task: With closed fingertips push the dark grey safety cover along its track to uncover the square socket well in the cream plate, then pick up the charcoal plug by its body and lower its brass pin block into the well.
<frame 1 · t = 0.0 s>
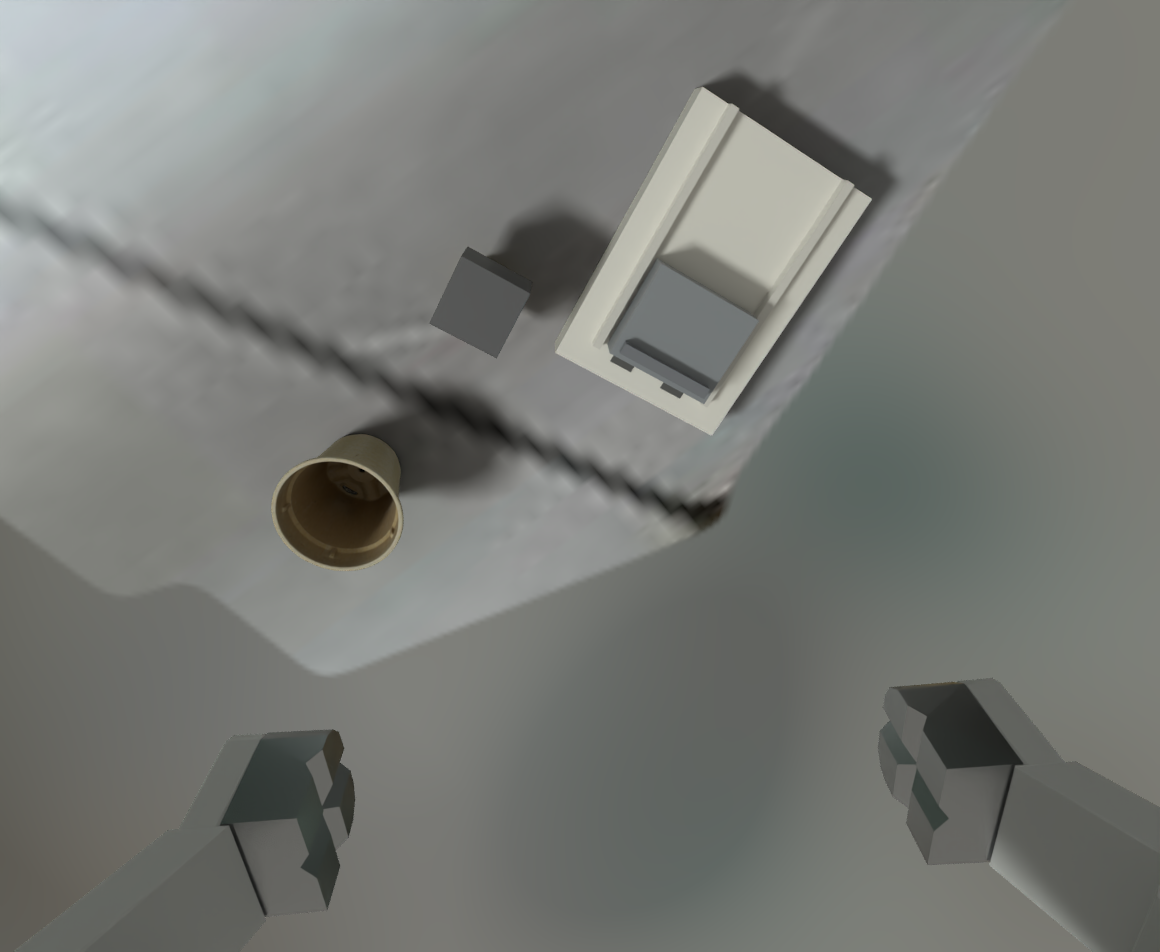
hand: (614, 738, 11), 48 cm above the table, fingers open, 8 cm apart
cover: (682, 334, 52), point 5 cm above the table, slide at 0.0 cm
plug: (488, 286, 55), on the table
flower pot: (365, 466, 62), on the table
socket plate: (700, 271, 55), on the table
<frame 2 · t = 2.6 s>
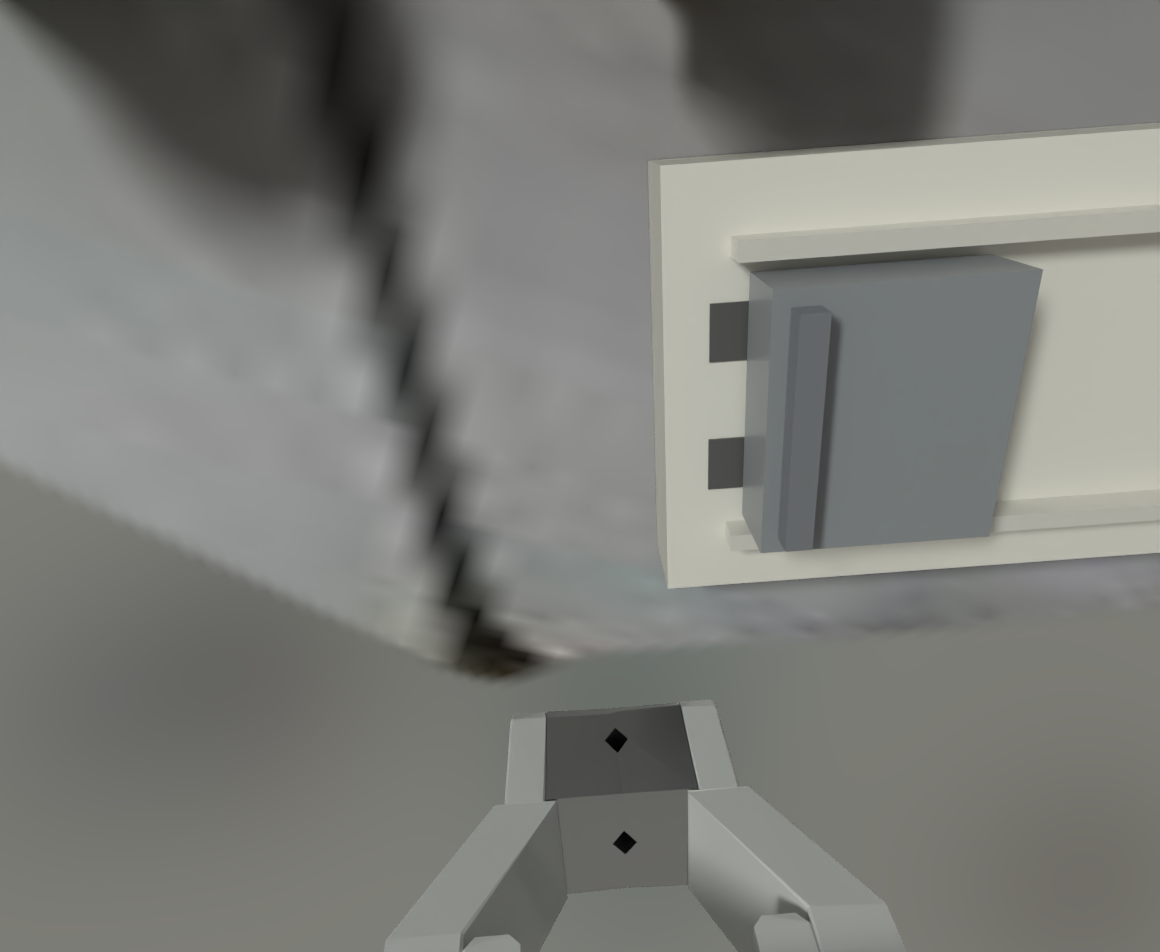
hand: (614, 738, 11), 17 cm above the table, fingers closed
cover: (878, 412, 21), point 5 cm above the table, slide at 0.0 cm
socket plate: (935, 354, 26), on the table
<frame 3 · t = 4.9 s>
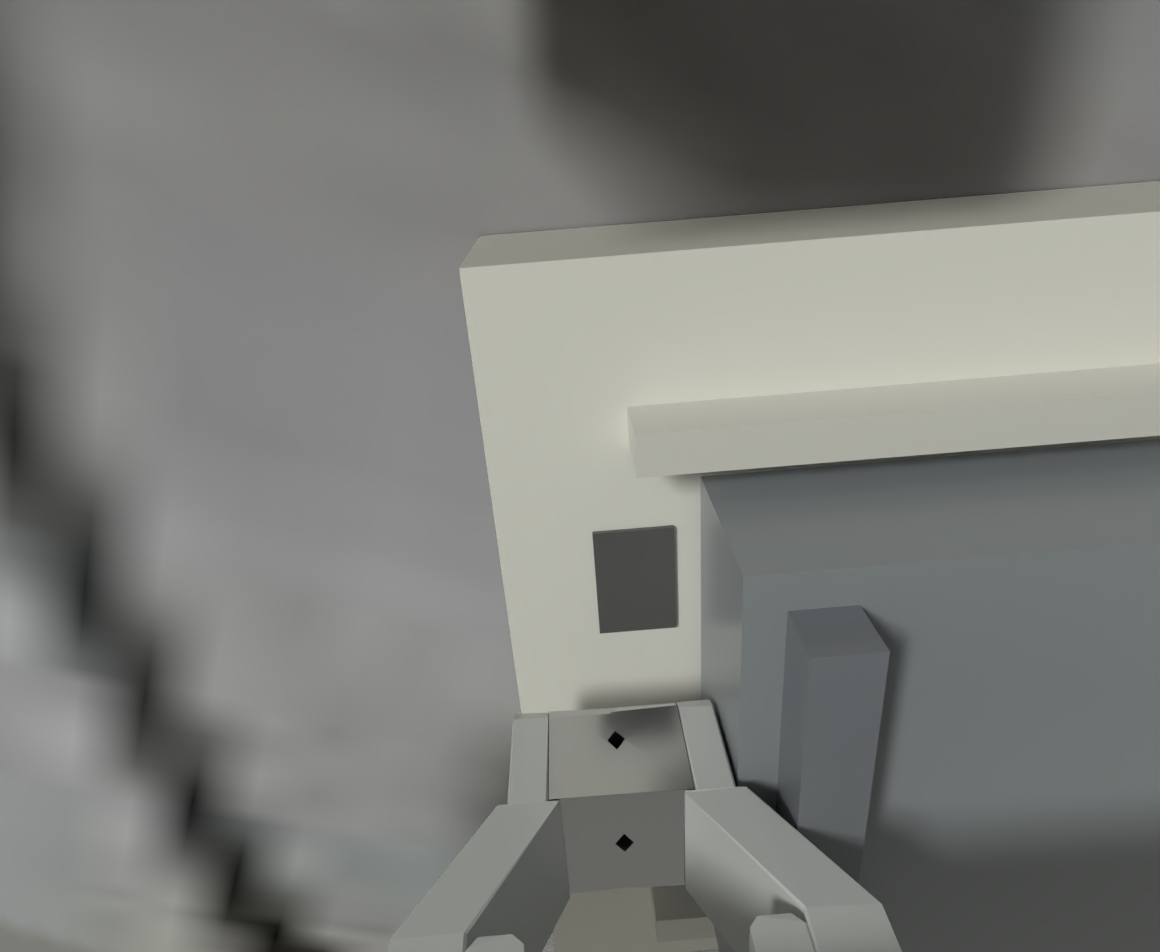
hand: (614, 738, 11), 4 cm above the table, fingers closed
cover: (969, 761, 10), point 5 cm above the table, slide at 0.5 cm, touching gripper
socket plate: (1018, 556, 15), on the table
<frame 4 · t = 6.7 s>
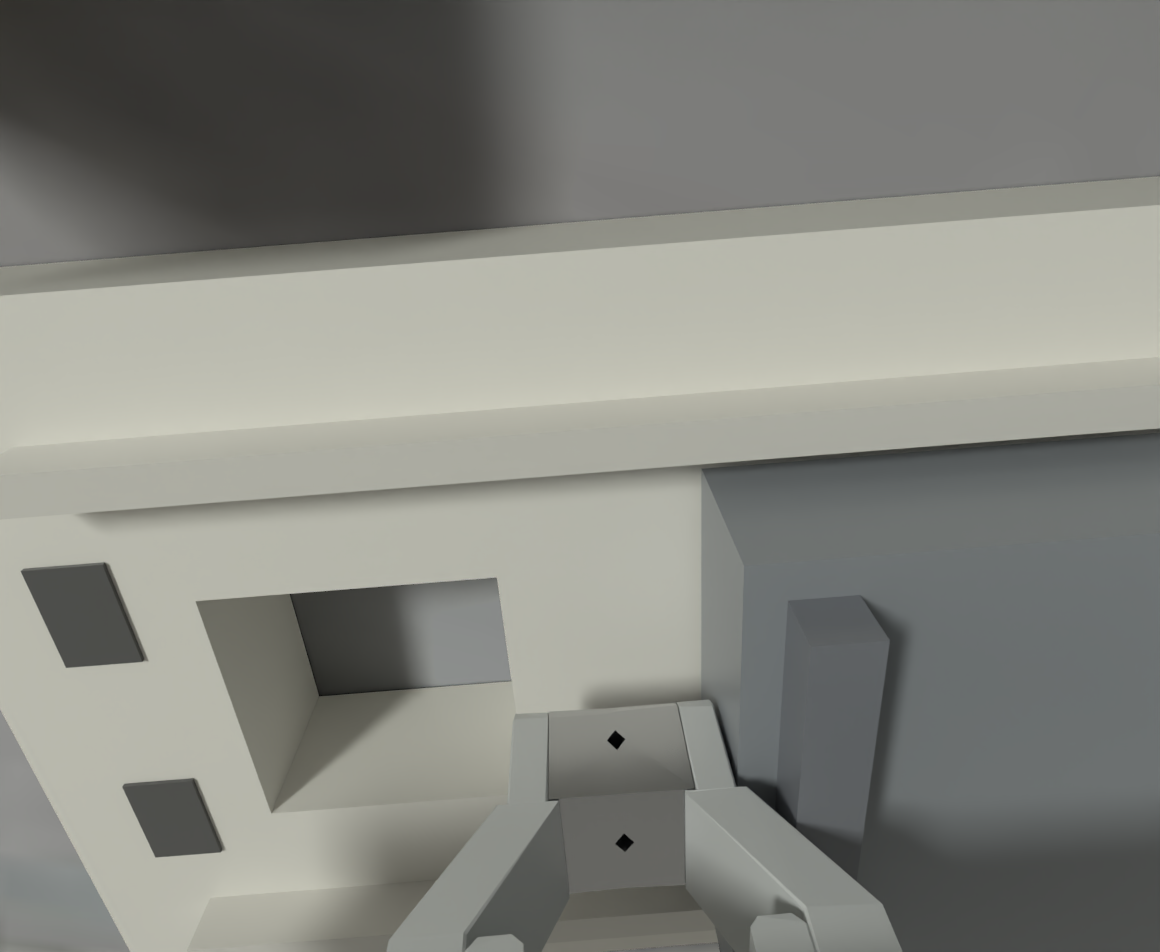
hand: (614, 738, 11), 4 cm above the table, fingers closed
cover: (968, 753, 10), point 5 cm above the table, slide at 8.9 cm, touching gripper
socket plate: (604, 584, 15), on the table
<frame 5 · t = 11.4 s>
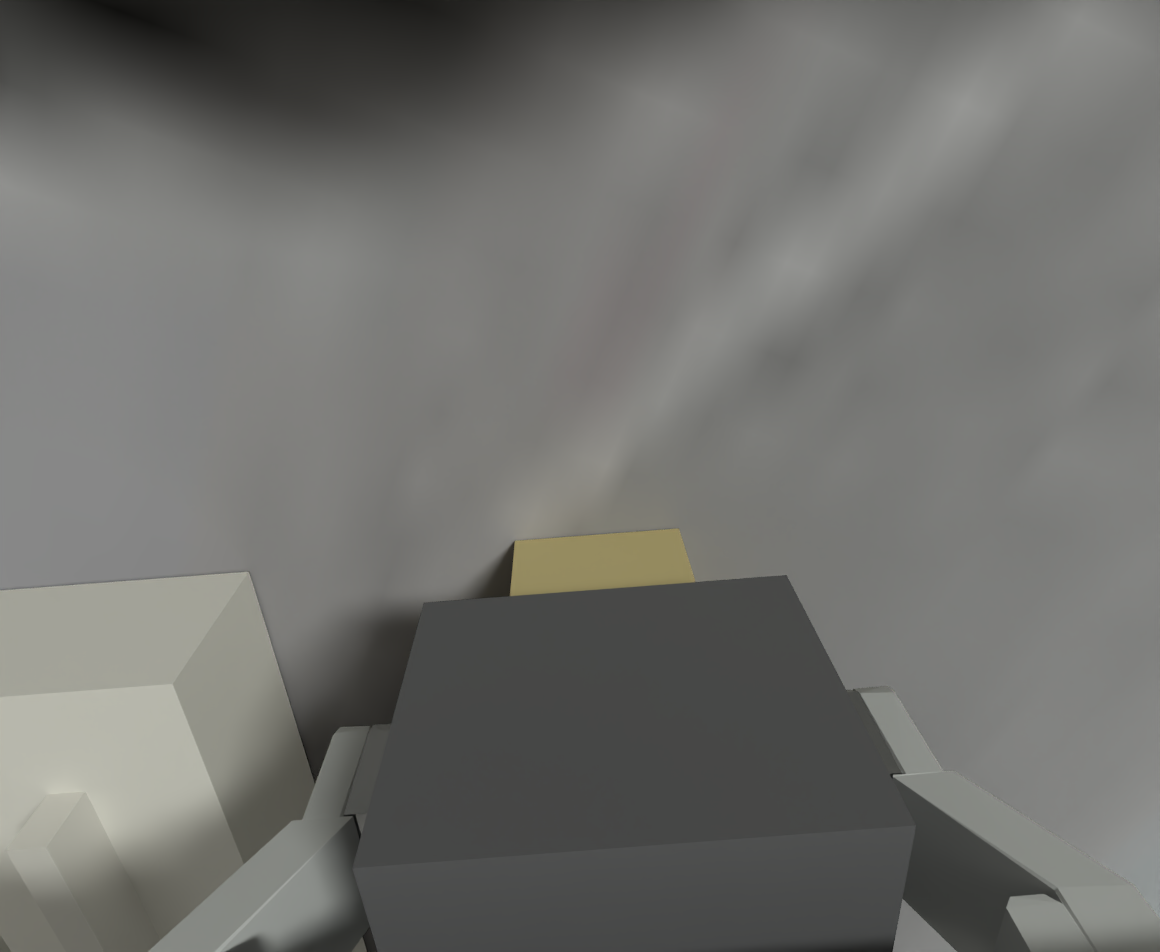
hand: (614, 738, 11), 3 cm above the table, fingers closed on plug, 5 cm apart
plug: (601, 602, 14), on the table, touching gripper
socket plate: (68, 941, 18), on the table
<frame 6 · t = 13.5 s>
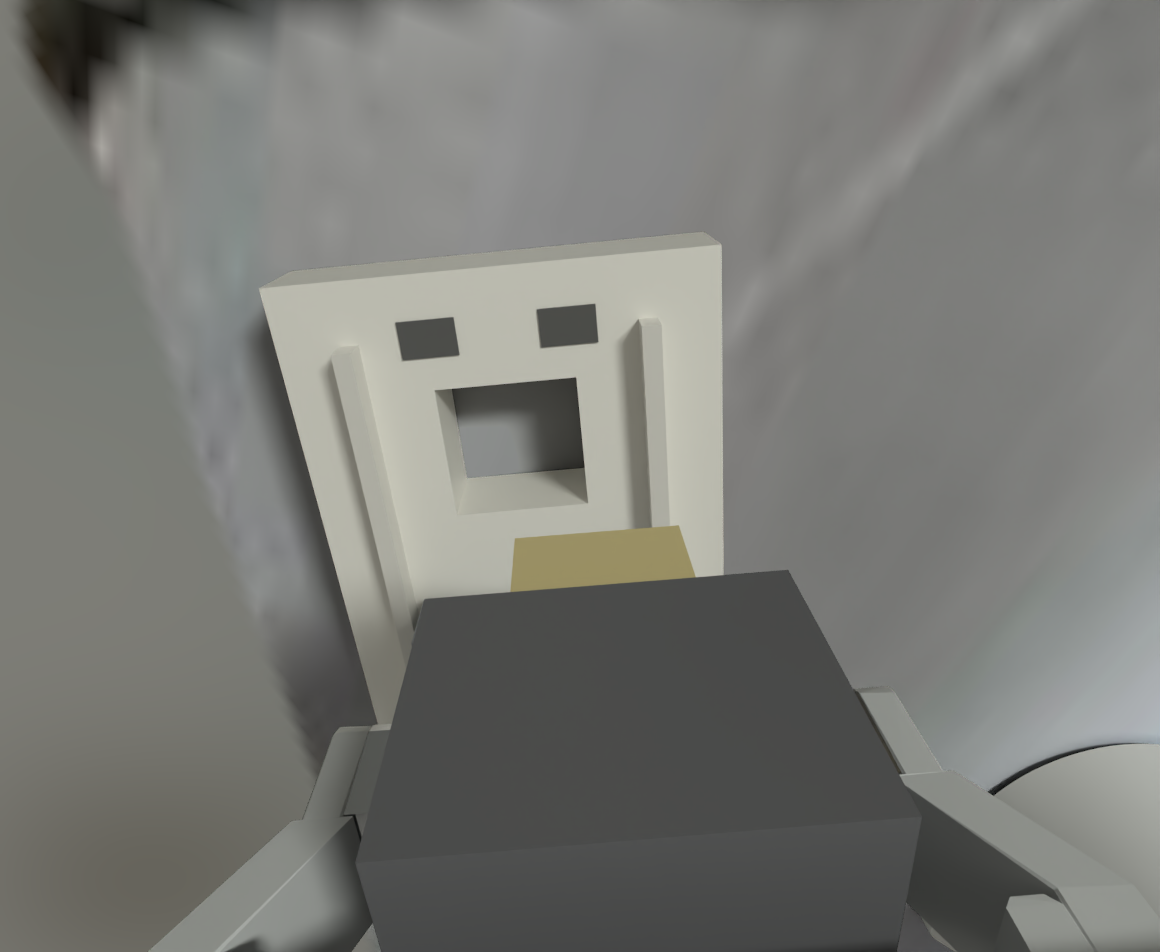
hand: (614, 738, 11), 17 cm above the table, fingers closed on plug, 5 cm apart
cover: (542, 696, 27), point 5 cm above the table, slide at 9.0 cm
plug: (601, 599, 14), point 14 cm above the table, touching gripper
socket plate: (531, 511, 29), on the table
when the fingers open (5 cm above the table, at t = 15.9 s): plug drops 1 cm, resting in socket plate.
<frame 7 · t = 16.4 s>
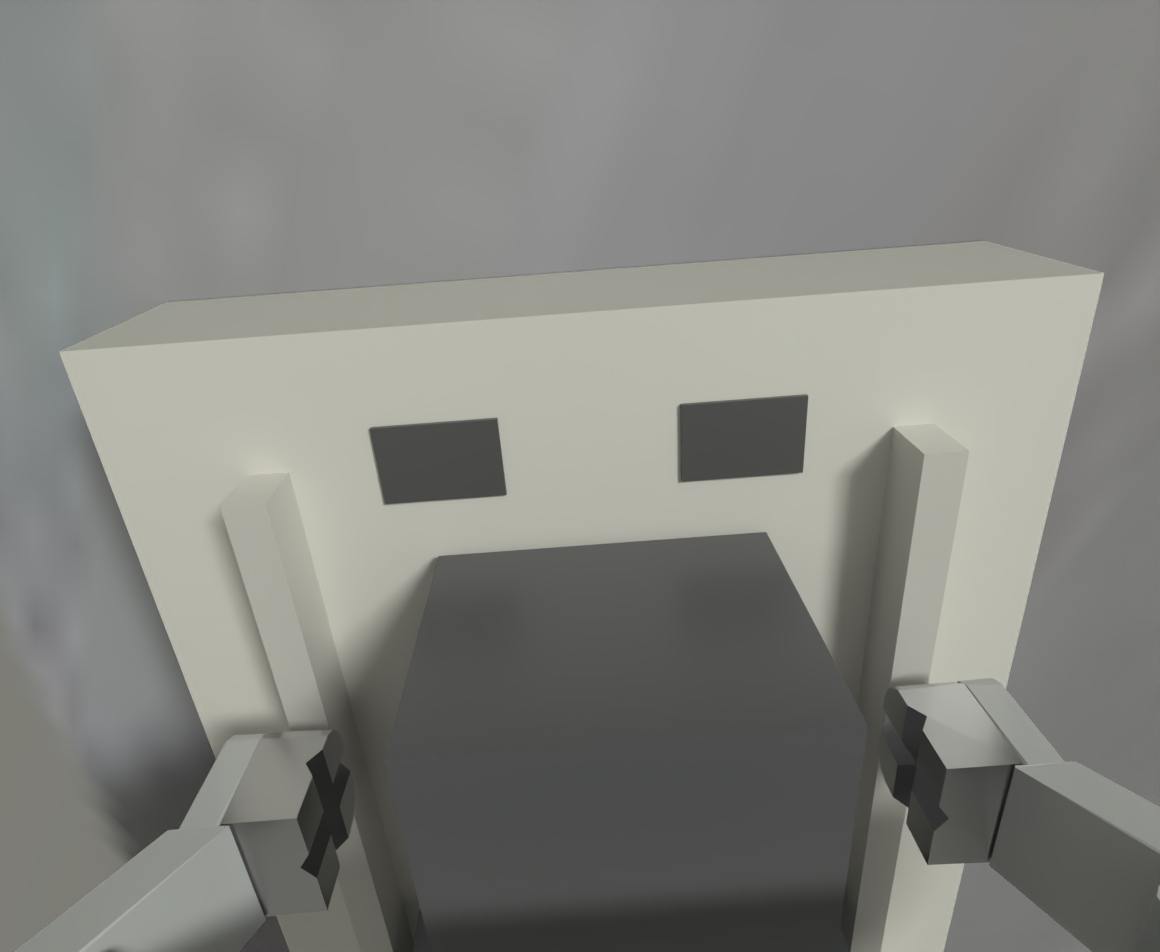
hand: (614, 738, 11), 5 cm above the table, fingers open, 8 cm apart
plug: (599, 568, 15), resting in socket plate
socket plate: (606, 716, 17), on the table
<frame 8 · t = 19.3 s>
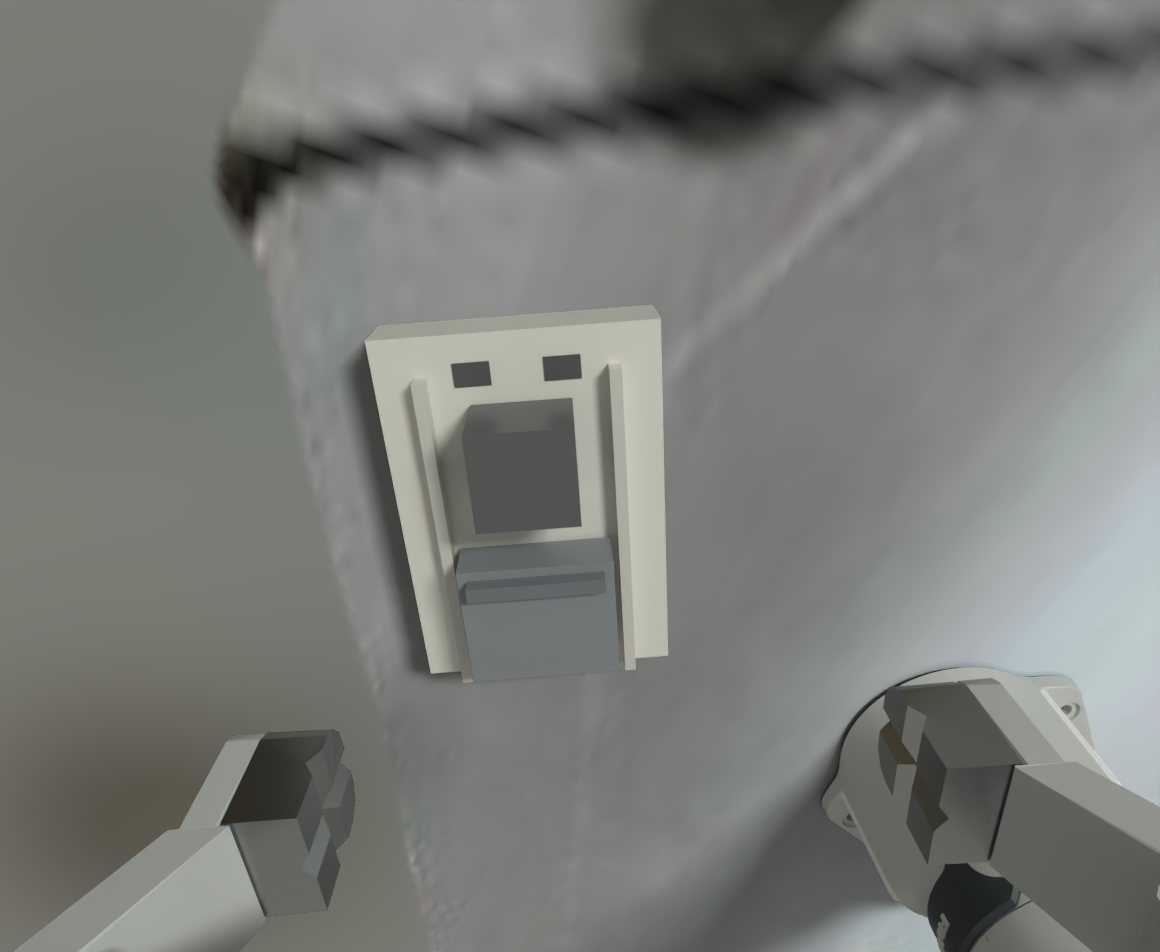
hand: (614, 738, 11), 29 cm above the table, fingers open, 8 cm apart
cover: (541, 614, 39), point 5 cm above the table, slide at 9.0 cm
plug: (528, 424, 40), resting in socket plate
socket plate: (534, 490, 42), on the table
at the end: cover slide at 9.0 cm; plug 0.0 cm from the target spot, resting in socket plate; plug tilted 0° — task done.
